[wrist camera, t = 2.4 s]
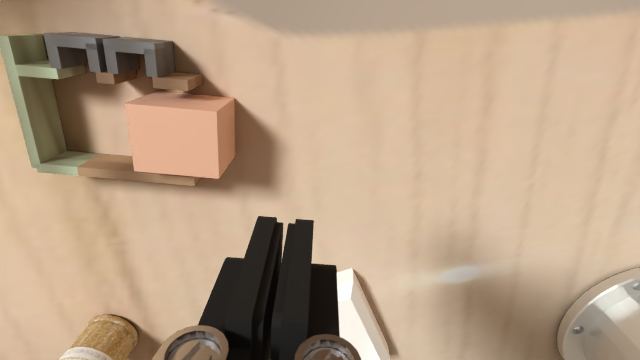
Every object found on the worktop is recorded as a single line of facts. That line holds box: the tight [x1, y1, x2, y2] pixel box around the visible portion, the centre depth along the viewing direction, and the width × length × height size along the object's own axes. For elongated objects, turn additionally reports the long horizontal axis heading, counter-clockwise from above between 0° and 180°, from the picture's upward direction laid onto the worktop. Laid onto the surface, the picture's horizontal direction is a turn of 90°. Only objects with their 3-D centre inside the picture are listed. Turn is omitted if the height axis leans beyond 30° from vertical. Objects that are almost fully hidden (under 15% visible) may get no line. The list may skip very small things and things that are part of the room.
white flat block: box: [337, 268, 390, 360], centre depth 29 cm, size 5×9×3 cm, turn 22°
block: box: [125, 91, 235, 179], centre depth 22 cm, size 5×4×4 cm
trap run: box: [0, 32, 203, 186], centre depth 22 cm, size 10×8×2 cm
